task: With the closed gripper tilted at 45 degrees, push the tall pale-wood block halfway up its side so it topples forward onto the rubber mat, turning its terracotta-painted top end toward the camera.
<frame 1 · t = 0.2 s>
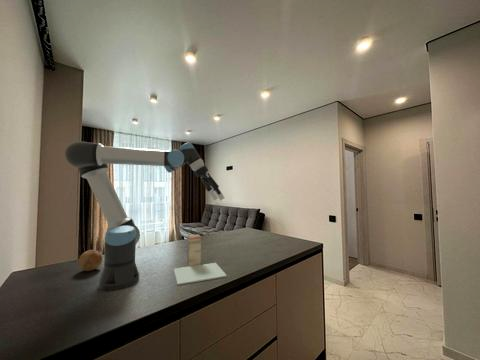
hand: (219, 199, 118), 35 cm above the table, fingers open, 13 cm apart
onion: (90, 270, 101), on the table
wood block: (193, 263, 110), on the table
rubber mat: (199, 273, 98), on the table
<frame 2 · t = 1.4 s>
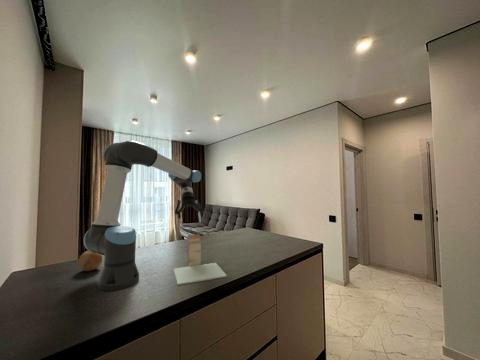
hand: (191, 221, 122), 21 cm above the table, fingers open, 10 cm apart
nothing on the table moved.
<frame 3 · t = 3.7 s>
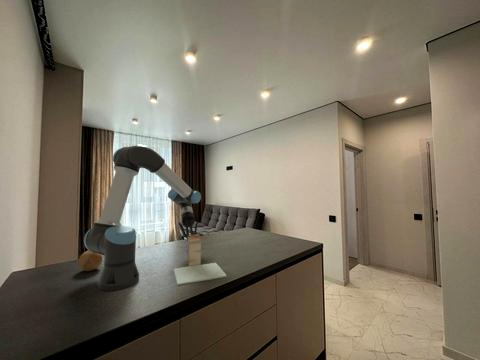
hand: (191, 246, 119), 7 cm above the table, fingers closed
nothing on the table moved.
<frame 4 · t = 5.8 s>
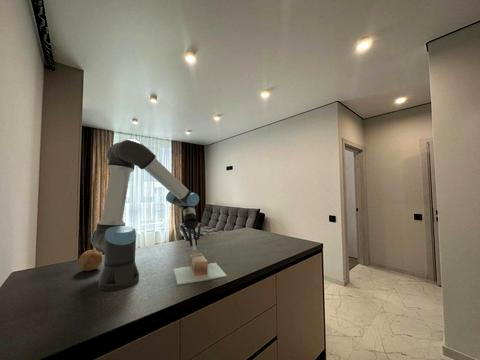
hand: (194, 251, 110), 7 cm above the table, fingers closed
wood block: (195, 258, 108), point 4 cm above the table, tilted 90°, touching rubber mat
everything else where it was.
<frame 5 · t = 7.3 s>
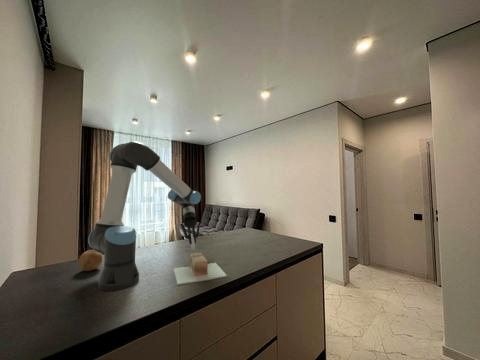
hand: (193, 248, 114), 7 cm above the table, fingers closed
nothing on the table moved.
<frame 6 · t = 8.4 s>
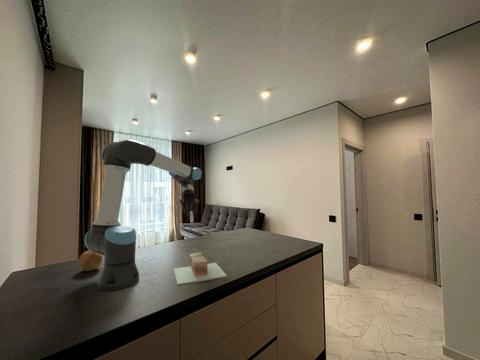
hand: (192, 221, 119), 22 cm above the table, fingers closed
nothing on the table moved.
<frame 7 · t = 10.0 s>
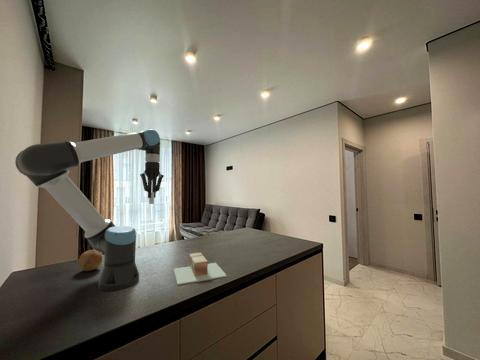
hand: (151, 203, 114), 32 cm above the table, fingers closed
nothing on the table moved.
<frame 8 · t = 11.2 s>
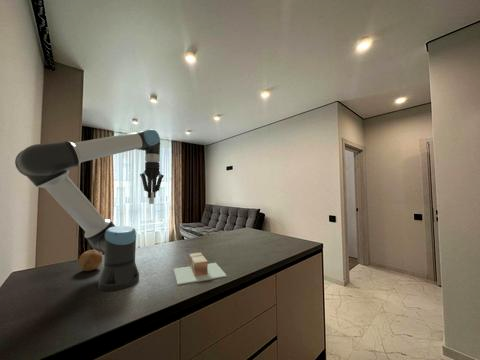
hand: (151, 203, 114), 32 cm above the table, fingers closed
nothing on the table moved.
at the end: wood block tilted 90°; wood block touching rubber mat; the gripper is holding nothing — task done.
